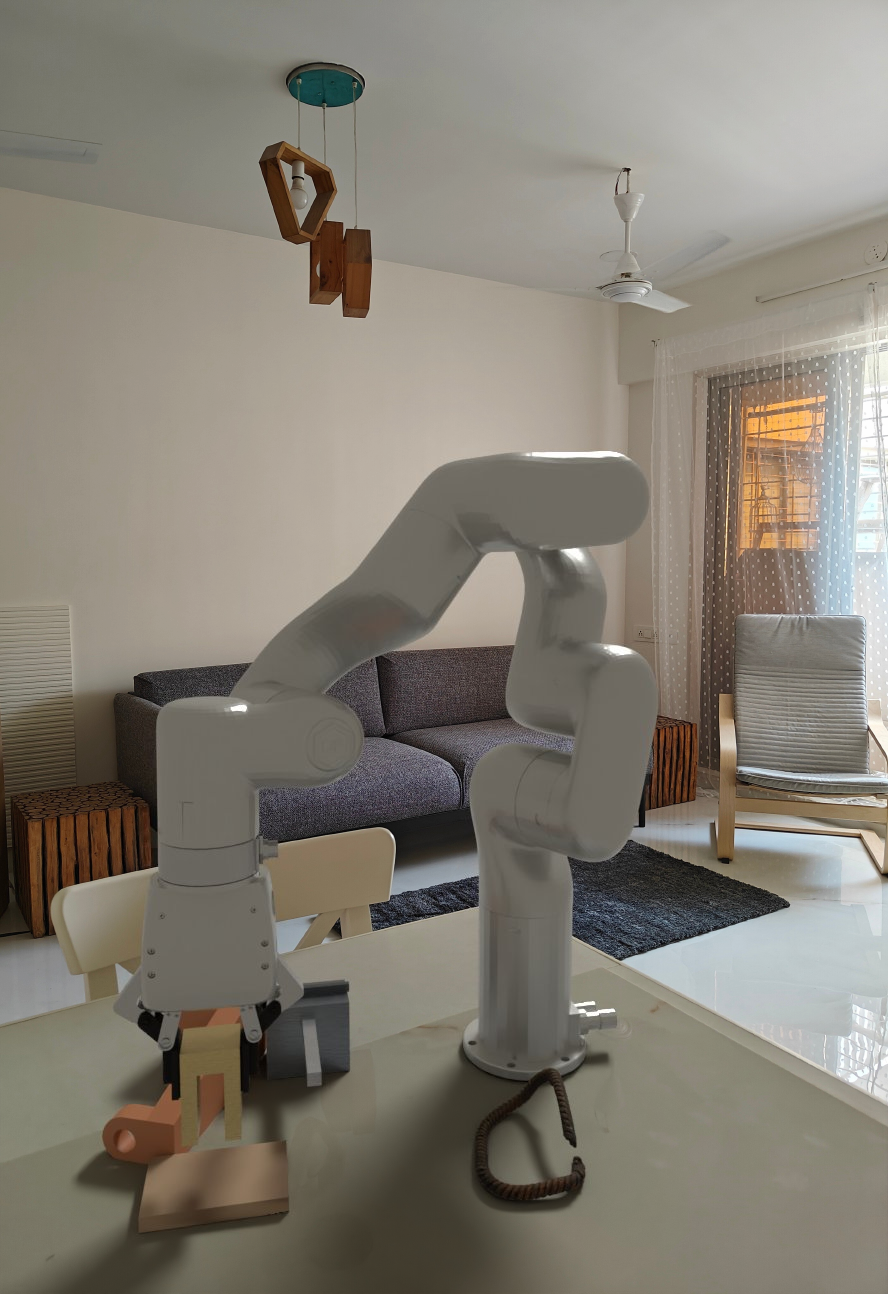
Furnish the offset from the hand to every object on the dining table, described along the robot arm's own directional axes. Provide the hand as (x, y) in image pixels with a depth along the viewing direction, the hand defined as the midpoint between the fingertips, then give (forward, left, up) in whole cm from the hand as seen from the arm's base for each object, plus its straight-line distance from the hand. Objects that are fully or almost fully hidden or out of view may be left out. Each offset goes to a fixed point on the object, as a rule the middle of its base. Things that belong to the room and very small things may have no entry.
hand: (211, 1084), depth 70 cm
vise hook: (-8, -13, -9) cm, 18 cm away
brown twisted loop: (-26, 0, -9) cm, 28 cm away
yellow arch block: (0, 0, -4) cm, 4 cm away
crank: (+3, -14, -9) cm, 17 cm away
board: (0, 0, -9) cm, 9 cm away
